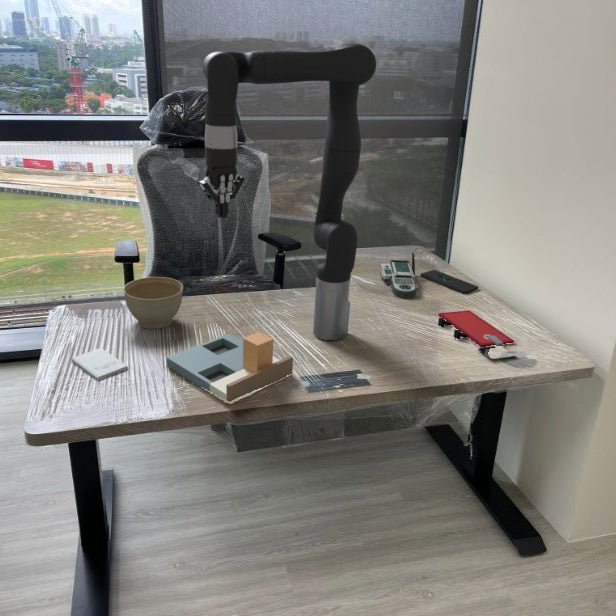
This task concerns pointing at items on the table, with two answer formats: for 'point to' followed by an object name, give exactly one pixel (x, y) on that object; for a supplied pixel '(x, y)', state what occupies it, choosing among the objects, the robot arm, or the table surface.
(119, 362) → the external hard drive
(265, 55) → the robot arm
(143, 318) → the planter bowl
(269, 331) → the table surface
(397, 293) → the communication device
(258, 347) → the orange block
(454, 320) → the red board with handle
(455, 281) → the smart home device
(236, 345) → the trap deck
